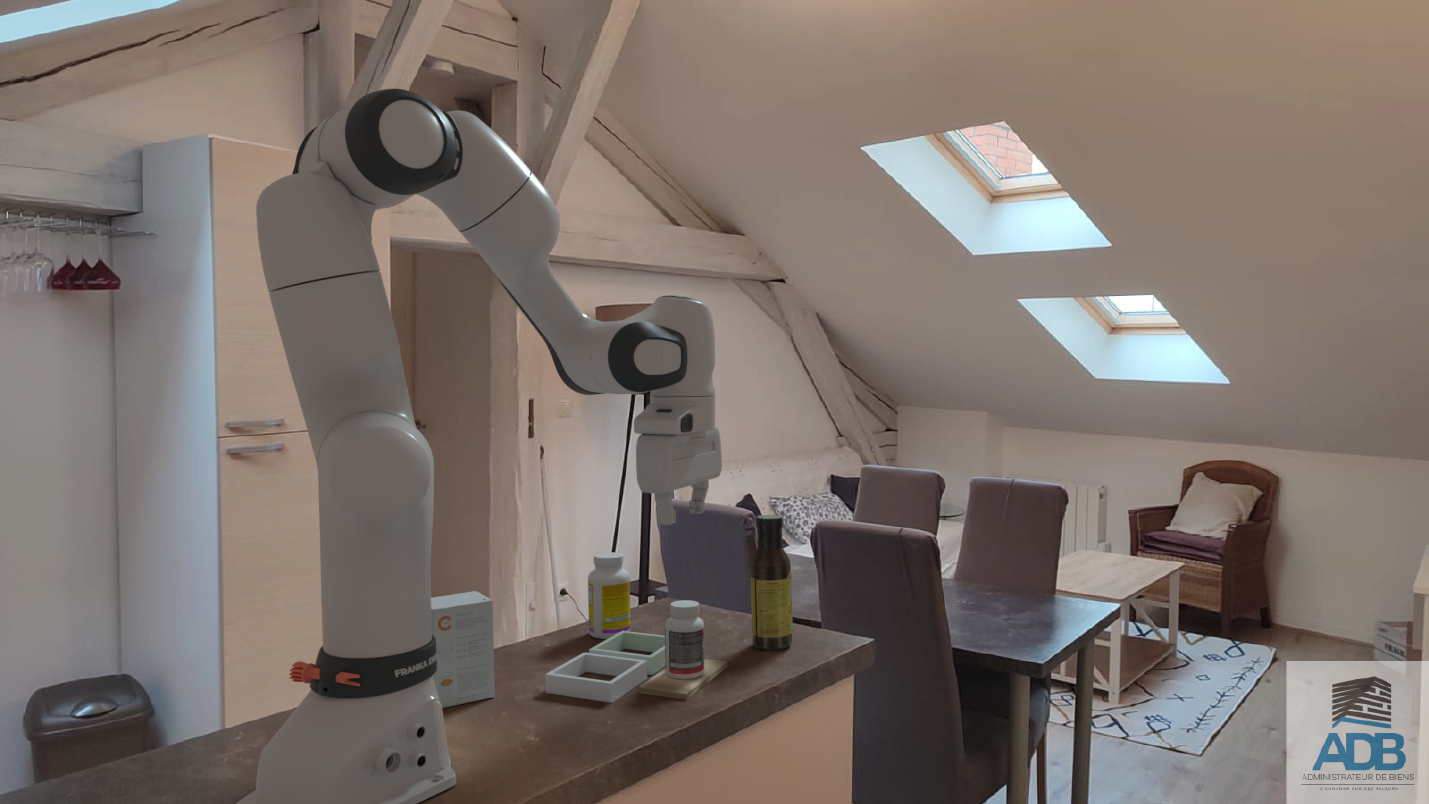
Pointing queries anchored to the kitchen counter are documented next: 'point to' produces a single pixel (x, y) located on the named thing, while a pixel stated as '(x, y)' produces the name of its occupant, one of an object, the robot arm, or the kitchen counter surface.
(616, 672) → the white square frame
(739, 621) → the kitchen counter surface
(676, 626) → the pill bottle
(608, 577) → the supplement bottle
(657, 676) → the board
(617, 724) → the kitchen counter surface
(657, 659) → the sage tray
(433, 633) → the small box
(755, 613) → the sauce bottle
